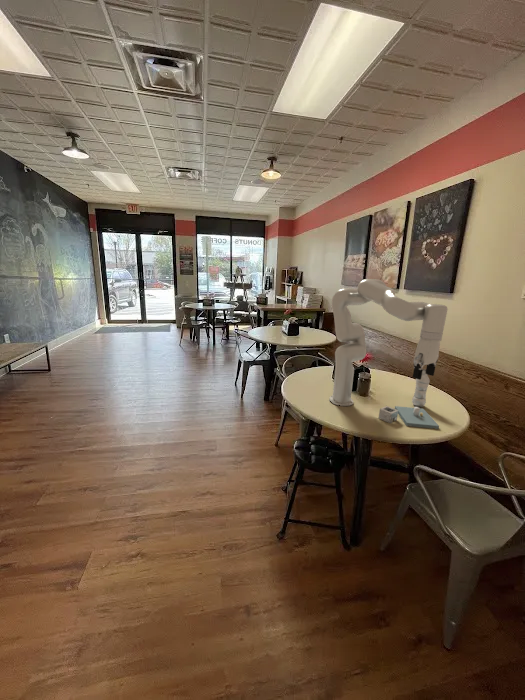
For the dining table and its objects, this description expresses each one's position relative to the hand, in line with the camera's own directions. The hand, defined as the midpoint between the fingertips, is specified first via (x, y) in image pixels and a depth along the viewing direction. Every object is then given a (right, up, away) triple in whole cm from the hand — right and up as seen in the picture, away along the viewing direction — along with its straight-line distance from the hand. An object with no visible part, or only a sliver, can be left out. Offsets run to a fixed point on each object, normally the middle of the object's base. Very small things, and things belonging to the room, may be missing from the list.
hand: (423, 376), depth 119 cm
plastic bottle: (+18, -19, +37) cm, 46 cm away
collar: (-6, -22, +21) cm, 31 cm away
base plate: (+9, -22, +23) cm, 33 cm away
